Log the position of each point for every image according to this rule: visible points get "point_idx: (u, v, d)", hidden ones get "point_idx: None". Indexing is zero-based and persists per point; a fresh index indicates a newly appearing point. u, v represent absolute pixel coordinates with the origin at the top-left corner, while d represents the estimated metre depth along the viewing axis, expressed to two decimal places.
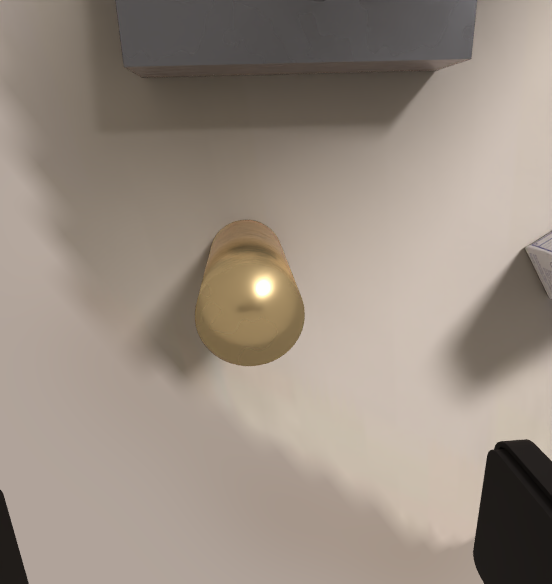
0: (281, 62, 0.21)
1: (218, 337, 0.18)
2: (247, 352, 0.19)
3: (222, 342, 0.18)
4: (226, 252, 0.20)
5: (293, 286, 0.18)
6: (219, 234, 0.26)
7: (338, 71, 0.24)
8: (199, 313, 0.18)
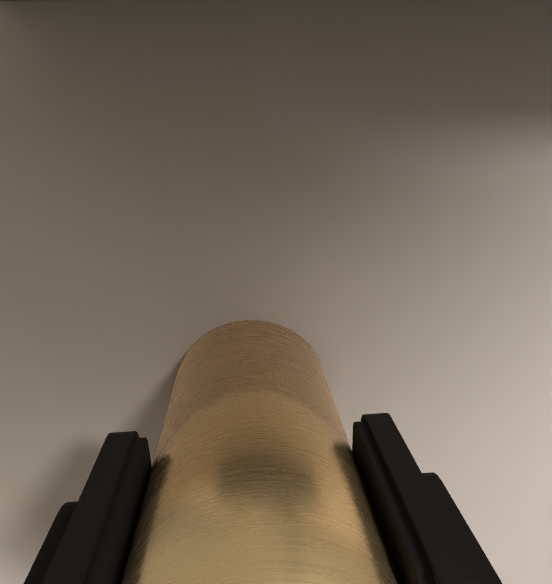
0: None
1: None
2: None
3: None
4: (188, 545, 0.06)
5: None
6: (191, 361, 0.12)
7: None
8: None
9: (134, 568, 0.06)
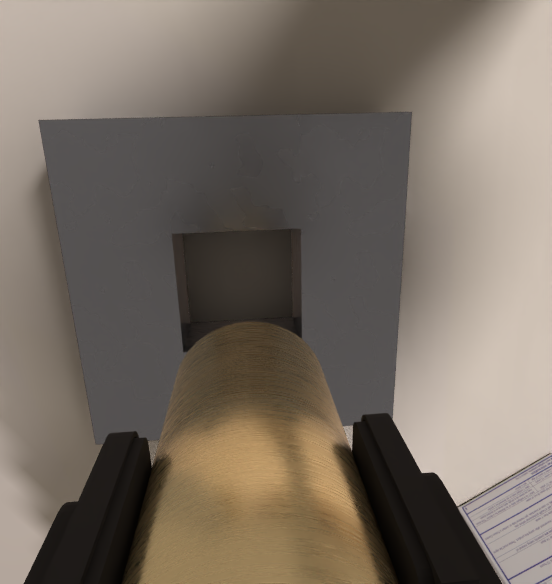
0: None
1: None
2: None
3: None
4: (188, 548, 0.06)
5: None
6: (191, 363, 0.12)
7: None
8: None
9: (133, 572, 0.06)
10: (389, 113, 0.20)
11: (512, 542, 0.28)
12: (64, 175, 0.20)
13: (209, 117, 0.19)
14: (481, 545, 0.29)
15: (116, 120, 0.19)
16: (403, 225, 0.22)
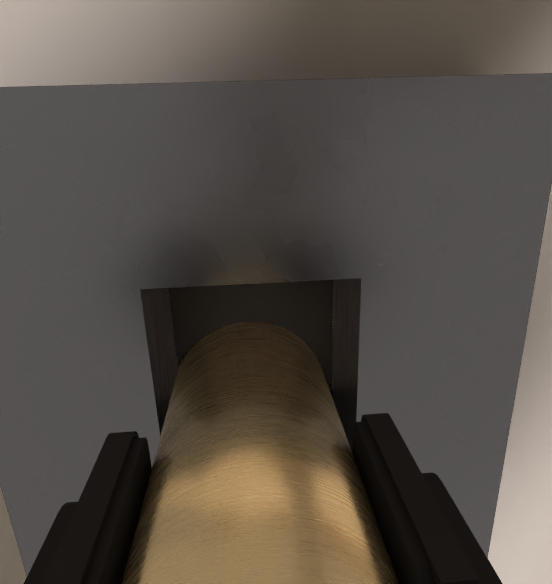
0: None
1: None
2: None
3: None
4: (188, 549, 0.06)
5: None
6: (191, 363, 0.12)
7: None
8: None
9: (133, 572, 0.06)
10: (529, 75, 0.11)
11: None
12: None
13: (202, 84, 0.11)
14: None
15: (30, 90, 0.10)
16: (534, 271, 0.13)
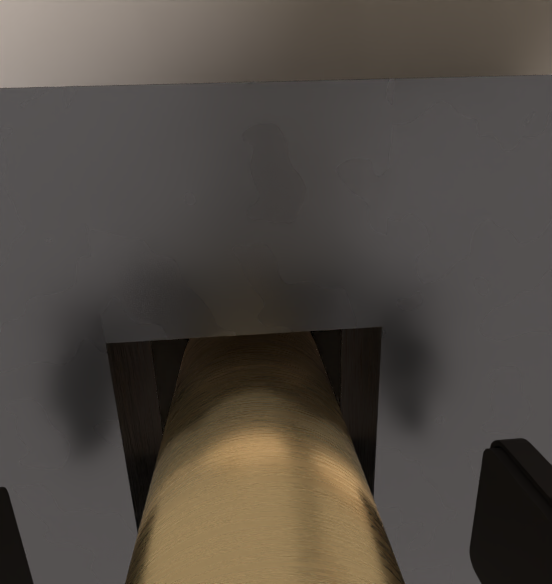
0: None
1: None
2: None
3: None
4: (201, 474, 0.07)
5: None
6: (198, 339, 0.13)
7: None
8: None
9: (155, 497, 0.08)
10: None
11: None
12: None
13: (181, 86, 0.08)
14: None
15: None
16: None
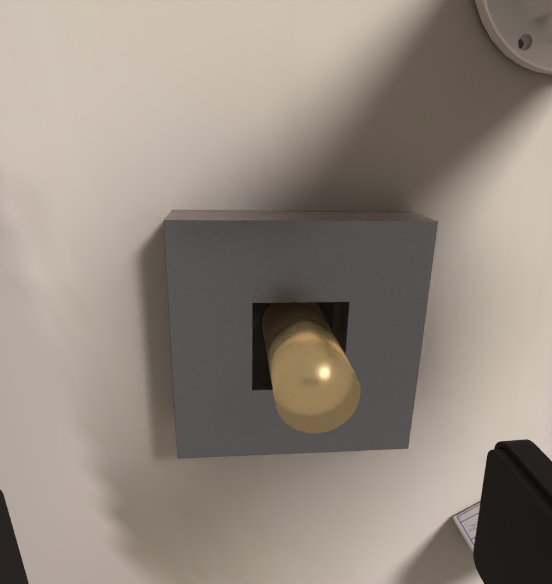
0: (282, 453, 0.31)
1: (291, 410, 0.23)
2: (312, 422, 0.23)
3: (293, 414, 0.23)
4: (294, 337, 0.25)
5: (353, 374, 0.23)
6: (274, 307, 0.31)
7: None
8: (278, 392, 0.23)
9: (278, 346, 0.25)
10: (421, 222, 0.27)
11: None
12: (177, 259, 0.26)
13: (288, 221, 0.26)
14: (472, 548, 0.36)
15: (220, 221, 0.26)
16: (426, 302, 0.28)
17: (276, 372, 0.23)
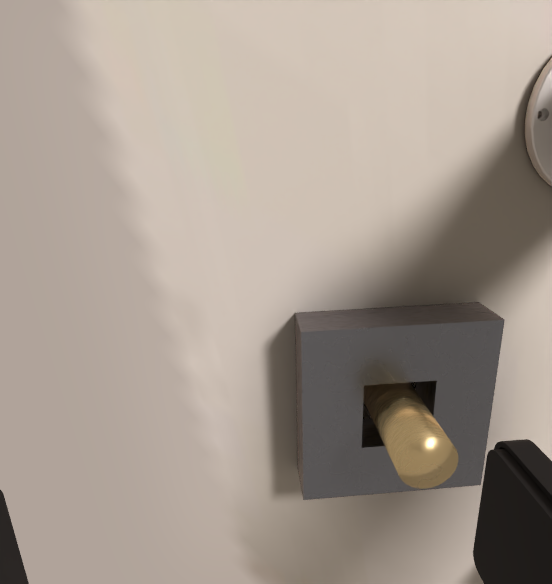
0: (382, 492, 0.40)
1: (408, 474, 0.32)
2: (423, 481, 0.32)
3: (409, 476, 0.32)
4: (403, 416, 0.34)
5: (453, 447, 0.31)
6: None
7: None
8: (400, 462, 0.32)
9: (390, 422, 0.34)
10: (491, 320, 0.35)
11: None
12: (310, 358, 0.35)
13: (392, 326, 0.35)
14: None
15: (342, 330, 0.34)
16: (495, 377, 0.37)
17: (395, 445, 0.32)
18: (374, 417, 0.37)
